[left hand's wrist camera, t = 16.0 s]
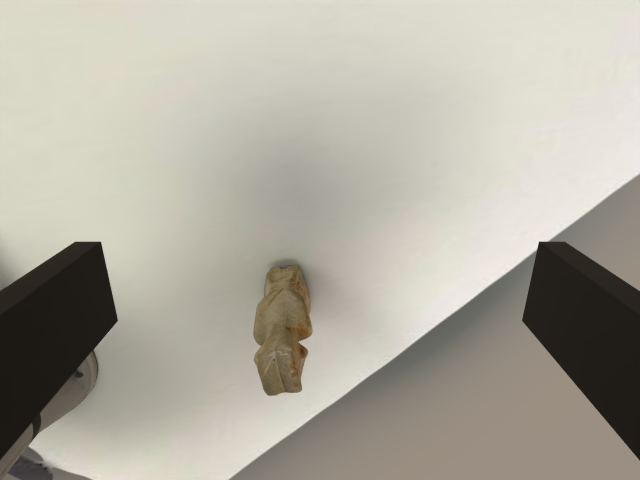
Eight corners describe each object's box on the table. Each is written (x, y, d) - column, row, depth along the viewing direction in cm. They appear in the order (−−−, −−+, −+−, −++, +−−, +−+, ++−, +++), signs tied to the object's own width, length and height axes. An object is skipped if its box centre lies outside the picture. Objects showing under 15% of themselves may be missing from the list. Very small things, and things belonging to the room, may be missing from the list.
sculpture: (268, 313, 50) (248, 404, 36) (260, 260, 47) (235, 336, 33) (316, 310, 49) (314, 400, 35) (310, 256, 47) (306, 331, 33)
